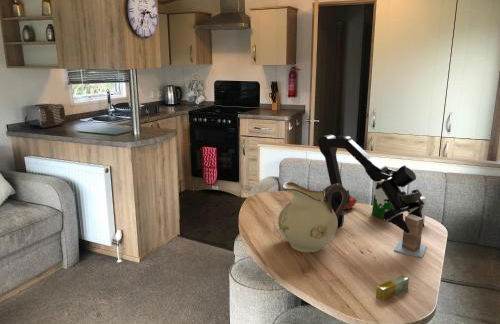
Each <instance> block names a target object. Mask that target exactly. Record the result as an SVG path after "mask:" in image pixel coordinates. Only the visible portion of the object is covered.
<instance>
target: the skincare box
mask: <svg viewBox="0 0 500 324" xmlns="http://www.w3.org/2000/svg"><path fill="white" fill-rule="evenodd" d="M420 199H421V200H422V201H423V202H424V205H423V206H424V207H423V208H422V211H421V213H422V218H424V220H423V222H424V223H425V216H426V206H427V198H426V197H424V196H423V195H422V196H421V197H420ZM409 213H411V212H408V211H407V216H408V215H409Z"/></svg>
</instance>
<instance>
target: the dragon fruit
mask: <svg viewBox="0 0 500 324" xmlns="http://www.w3.org/2000/svg"><path fill="white" fill-rule="evenodd" d="M349 196H350V198H351V199H350V202H349V204H348V205H347V206H345V209H344V211H346V210H352V209H353V208H354V206H355V204H357V199H356V197H355V196H351V194H350V193H349Z"/></svg>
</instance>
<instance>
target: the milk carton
mask: <svg viewBox="0 0 500 324" xmlns="http://www.w3.org/2000/svg"><path fill="white" fill-rule="evenodd" d="M391 178H392V177H390V178H388V180H389V179H391ZM383 181H384V180H381V181H373V183H374V184H373V185H374V192H373V202H372V209H371V215H372V216H374V217H377V218H378V219H380V220H384V218H383V213H385V212H386V211H388V210H389V209H391V208H393V206H392V205H391V203H390V202H387V201H386V200H388V198H387V196H386V195H385V193H384V191H383V190H382V188H381V189H376V186H377V183H378V182H383Z"/></svg>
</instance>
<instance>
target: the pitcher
mask: <svg viewBox="0 0 500 324" xmlns="http://www.w3.org/2000/svg"><path fill="white" fill-rule="evenodd" d="M281 190H282V191H284V192H288V193H291V194H292V195H293V197H292V199H291V200H290V201H289V202H288V203H286V204H285V206H283V208H282V209H281V211H280V212H279V214H278V218H277V219H278V220H277V221H278V223H277V224H278V228H279V231H280V233H281V235H282V237H284V239H285V240H286V241H287V242H288V243H289V245H290V247H291V248H292V249H293V250H295V251H298V252H301V253H307V254H309V253H310V254H311V253H316V252H318V251H320V250H322V248H323V246H325V245H326V244H328V243H329V242H330V241H331V240H332V239H333V237H334V236H335V234H336V233H337V231H338V230H337V229H338V227H337V226H338V221H337V220H338V217H339V215H340V214H341V212H342V210H343V211H344V210H345V209H344V207H345V206H346V203H347V201H348V193H347V191H346V190H347V189H346V188H345V187H344V186H343V185H342V186H341V185H340V184H338V183H336V184H333V185H331V184H330V185H328V186H326V187H324V189H323V190H310V189H308V188H305V187H303V186H301V185H299V184H297V183H295V182H293V181H285V182H284V183H283V184H282V186H281ZM335 191H340V192H341V193H342V196H343V198H342V202H341V204H340V206H339V208H338V209H337V211H336V213H335V212H334V211H333V209H332V206H331V197H332V194H333V193H334V192H335Z"/></svg>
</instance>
